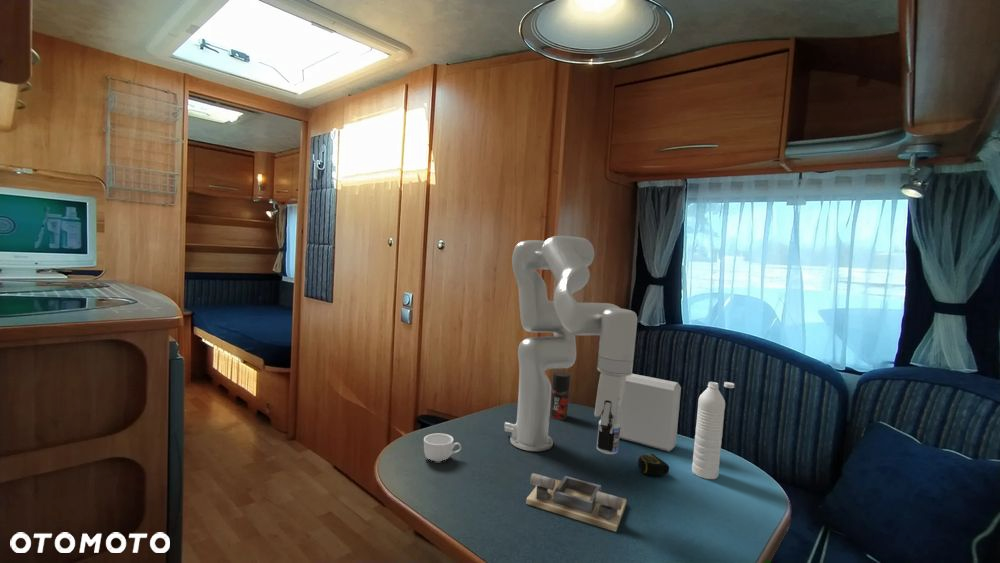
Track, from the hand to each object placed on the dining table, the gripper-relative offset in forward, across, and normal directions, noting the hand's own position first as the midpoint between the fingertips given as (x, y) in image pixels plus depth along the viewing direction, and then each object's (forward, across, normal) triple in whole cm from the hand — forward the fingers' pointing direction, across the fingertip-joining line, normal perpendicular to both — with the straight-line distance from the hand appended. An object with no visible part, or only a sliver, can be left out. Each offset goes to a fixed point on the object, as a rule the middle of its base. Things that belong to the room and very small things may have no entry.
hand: (607, 443), depth 102 cm
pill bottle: (+2, 0, 0) cm, 2 cm away
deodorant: (+16, -50, -24) cm, 58 cm away
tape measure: (+15, -24, +9) cm, 30 cm away
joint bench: (+15, +2, -5) cm, 16 cm away
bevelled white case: (+16, -44, +3) cm, 47 cm away
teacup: (+16, -2, -43) cm, 46 cm away
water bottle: (+15, -31, +23) cm, 41 cm away
